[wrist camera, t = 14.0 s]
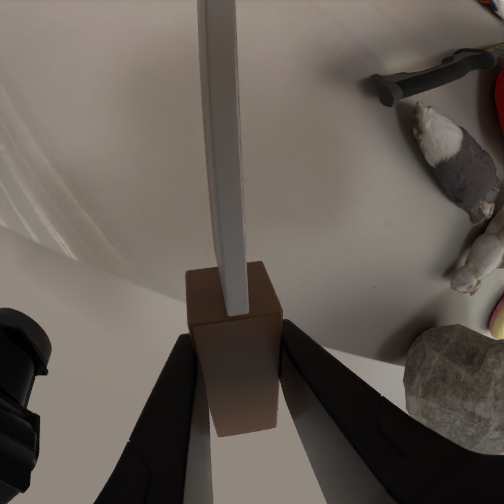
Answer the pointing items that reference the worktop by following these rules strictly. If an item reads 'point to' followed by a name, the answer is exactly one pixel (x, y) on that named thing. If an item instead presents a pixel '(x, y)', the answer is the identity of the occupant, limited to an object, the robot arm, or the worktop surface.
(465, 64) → the knife
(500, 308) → the donut
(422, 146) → the bird model
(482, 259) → the figurine
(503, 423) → the rock
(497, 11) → the figurine
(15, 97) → the worktop surface
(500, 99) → the tomato
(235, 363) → the cake knife
